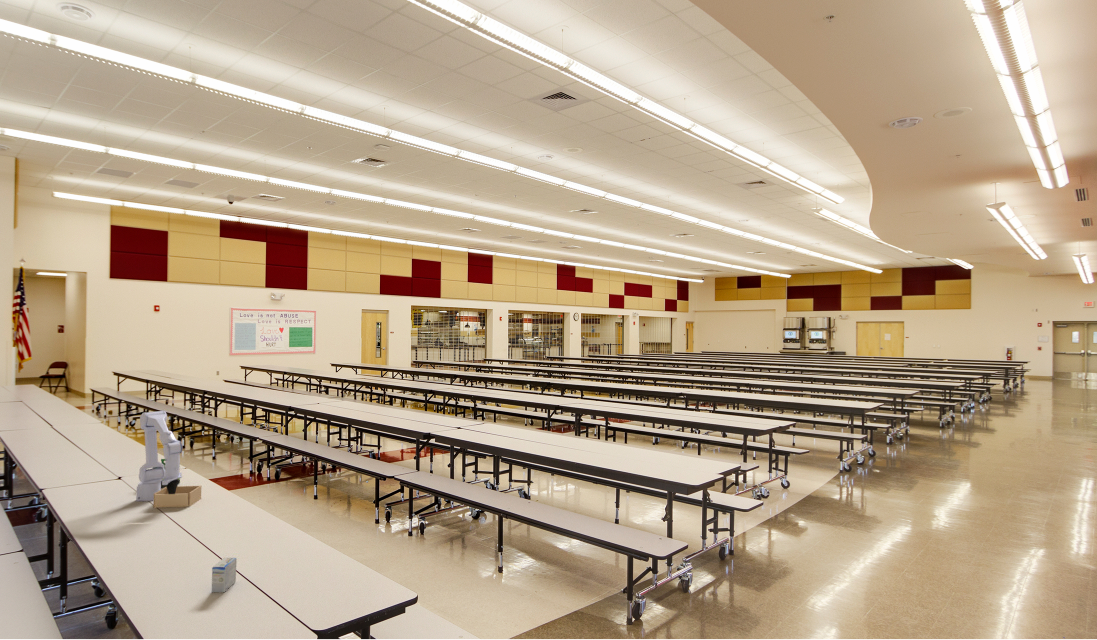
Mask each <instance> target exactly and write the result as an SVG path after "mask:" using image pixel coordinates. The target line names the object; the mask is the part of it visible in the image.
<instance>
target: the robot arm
mask: <svg viewBox="0 0 1097 640" xmlns="http://www.w3.org/2000/svg"><path fill="white" fill-rule="evenodd" d="M167 418H168V414H167V412H166V411H165V410H160V411H150V412H142V414H141V415H140V417H139V423H140V424H139V425H140V429H141V430H143V431H144V445H145V447H144V448H145V449H144V450H145V463H144V464H143V465H141V466H140V467H139V474H138V480H139V482H138V484H137V486H136V493H135V494H136V497H135V502H151V501H152V502H154V494H155V493H156V492H158V491H160V490H161V489H162V488H161V481H162V479H164V480H163V481H162V485H165V486H166V487H167V490H168V494H175V492H176V489H177V486H179V484H180V483H181V479H182V478H183V476H182V475H183V473H182V472H180V473H179V470H180V469H181V467H180V462H181V461H180V460H181V454H182V452H183V443H182V441H181V440H178V439H177V438H176V437H175V435H174V433H173V431H171V430H169V428H168V425H167V420H168V419H167ZM157 431H158V433H159V437H158V438H159V440H160V443H161V444H162V446H163V448H162V452H163V459H165V461H164V463H165V469H164V464H162V462H160V461H159V457H158V456H159V455H158V438H157ZM154 467H158V468H154ZM152 468H153V469H152ZM164 477H165V478H164ZM178 478H180V480H176V479H178ZM179 482H180V483H179Z"/></svg>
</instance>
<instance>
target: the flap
mask: <svg viewBox="0 0 1097 640" xmlns="http://www.w3.org/2000/svg"><path fill="white" fill-rule="evenodd" d="M160 507H161V508H185V507H188V493H184V494H155V508H160Z"/></svg>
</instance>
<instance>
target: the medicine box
mask: <svg viewBox="0 0 1097 640" xmlns="http://www.w3.org/2000/svg"><path fill="white" fill-rule="evenodd" d="M211 568H212V569H211V593H212V592H224V593H225V591H226V590H227V591H228V590H229V589H230V588H231V587H232V586H233V584H235V583H236V581H237V557H223V558H222V559H220V560H219V561H218V562H217V563H216V564H215V565H214V566H213V567H211ZM228 588H229V589H228ZM227 591H226V592H227Z"/></svg>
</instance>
